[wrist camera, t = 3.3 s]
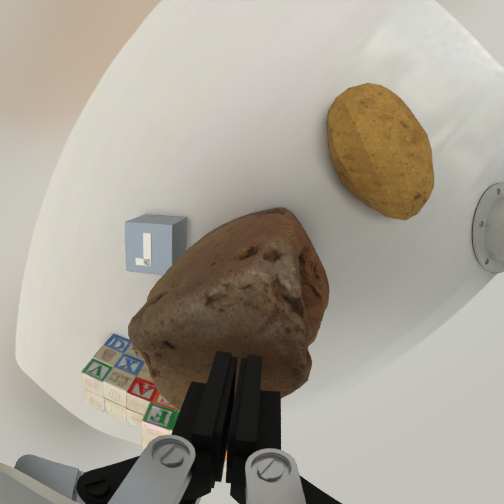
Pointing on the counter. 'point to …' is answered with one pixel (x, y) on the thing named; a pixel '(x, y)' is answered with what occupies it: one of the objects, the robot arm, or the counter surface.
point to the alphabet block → (154, 243)
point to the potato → (380, 150)
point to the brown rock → (235, 306)
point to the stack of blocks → (128, 390)
